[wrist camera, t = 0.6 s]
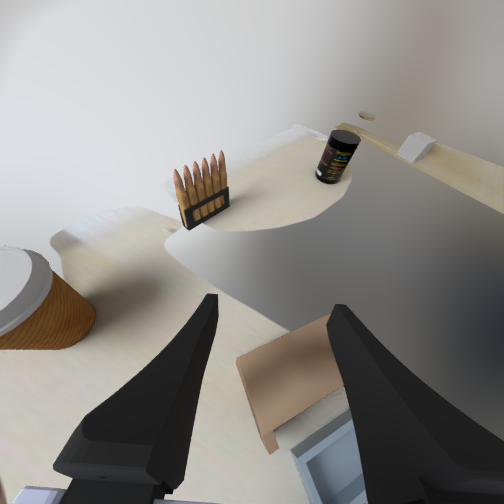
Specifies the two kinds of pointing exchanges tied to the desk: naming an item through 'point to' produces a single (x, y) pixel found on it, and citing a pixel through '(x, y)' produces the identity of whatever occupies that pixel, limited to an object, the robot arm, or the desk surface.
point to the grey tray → (331, 464)
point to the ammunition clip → (202, 192)
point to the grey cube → (416, 147)
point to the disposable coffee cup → (38, 304)
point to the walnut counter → (288, 377)
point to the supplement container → (336, 155)
